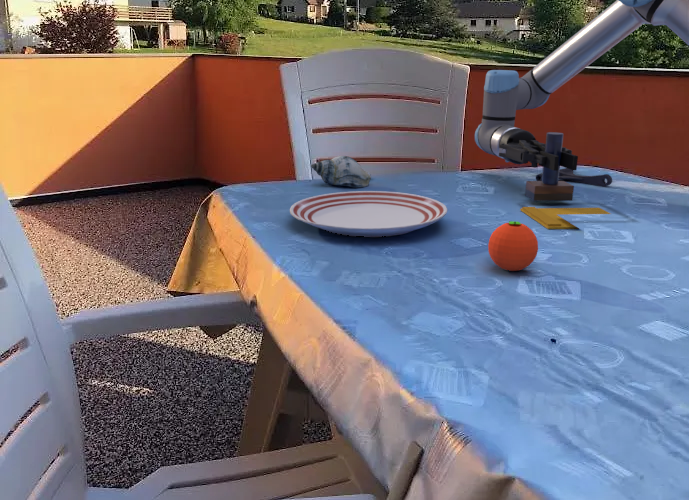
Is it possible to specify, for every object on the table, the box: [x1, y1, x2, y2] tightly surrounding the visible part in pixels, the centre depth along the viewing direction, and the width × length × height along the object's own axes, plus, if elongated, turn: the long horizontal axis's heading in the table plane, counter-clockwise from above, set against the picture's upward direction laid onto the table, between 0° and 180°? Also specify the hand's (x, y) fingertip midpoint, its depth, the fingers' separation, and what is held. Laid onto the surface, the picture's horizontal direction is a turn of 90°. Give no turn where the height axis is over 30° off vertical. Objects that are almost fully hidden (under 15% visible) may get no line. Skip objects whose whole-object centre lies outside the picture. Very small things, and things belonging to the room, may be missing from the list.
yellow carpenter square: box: [520, 206, 612, 230], centre depth 131 cm, size 16×14×1 cm
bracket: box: [535, 167, 613, 187], centre depth 165 cm, size 14×15×3 cm
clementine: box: [487, 220, 539, 272], centre depth 101 cm, size 8×7×7 cm
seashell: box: [310, 155, 372, 189], centre depth 156 cm, size 6×8×12 cm
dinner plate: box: [289, 190, 448, 238], centre depth 124 cm, size 28×27×3 cm
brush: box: [524, 131, 575, 202], centre depth 141 cm, size 8×5×13 cm, turn 96°
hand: (565, 163), depth 136 cm, fingers closed on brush, 3 cm apart
